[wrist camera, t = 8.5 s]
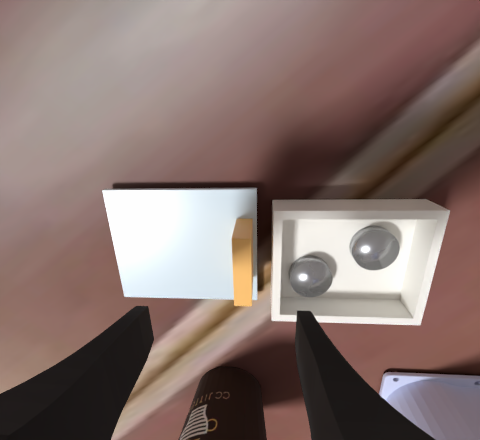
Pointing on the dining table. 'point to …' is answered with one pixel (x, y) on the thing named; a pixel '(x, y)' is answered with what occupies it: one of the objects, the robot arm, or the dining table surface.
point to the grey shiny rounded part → (310, 276)
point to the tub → (345, 267)
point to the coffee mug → (226, 408)
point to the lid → (185, 242)
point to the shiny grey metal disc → (374, 248)
